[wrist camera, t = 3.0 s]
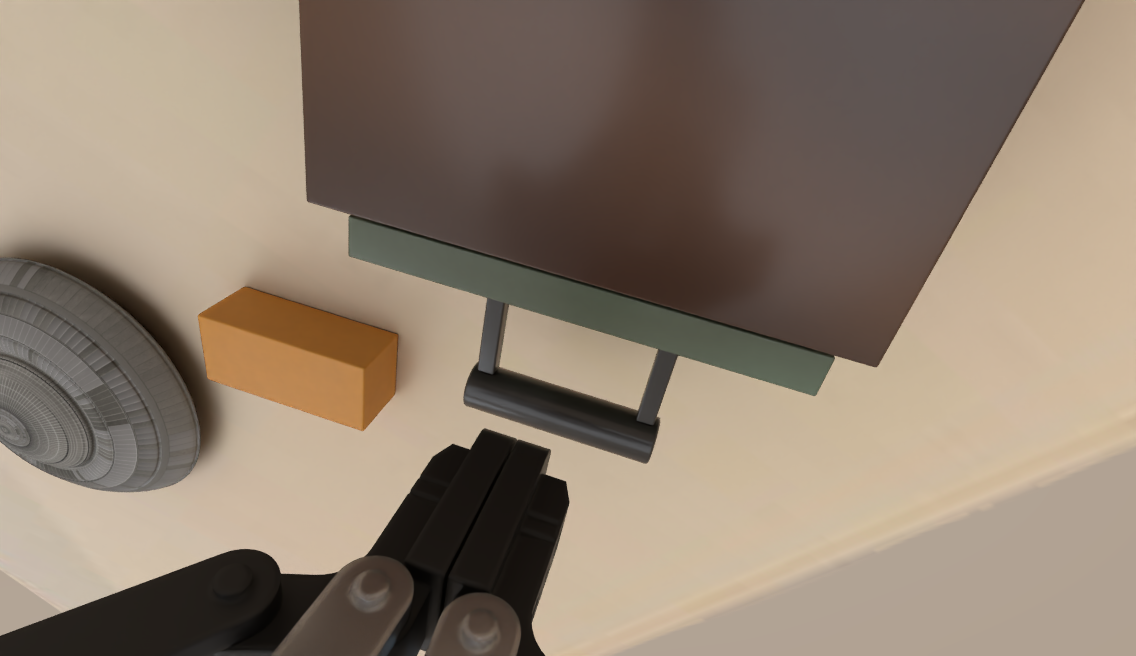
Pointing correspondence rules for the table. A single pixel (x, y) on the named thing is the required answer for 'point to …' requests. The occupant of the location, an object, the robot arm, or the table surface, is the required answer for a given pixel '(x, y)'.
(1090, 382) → the table surface
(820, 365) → the drawer
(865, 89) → the cabinet
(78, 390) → the flying saucer
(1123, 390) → the table surface
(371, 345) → the orange sponge
